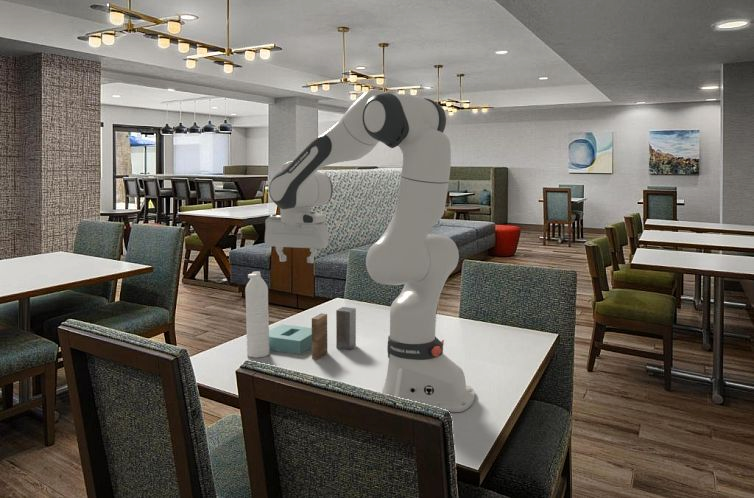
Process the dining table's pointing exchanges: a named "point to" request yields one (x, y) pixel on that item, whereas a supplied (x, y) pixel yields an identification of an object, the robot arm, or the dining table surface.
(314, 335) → the walnut blade
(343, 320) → the square metal peg
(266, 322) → the water bottle
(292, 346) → the socket block
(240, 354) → the dining table surface
